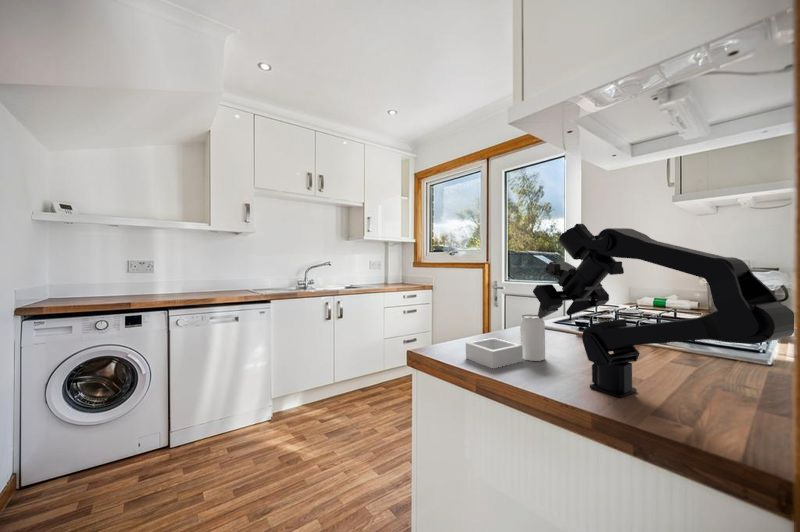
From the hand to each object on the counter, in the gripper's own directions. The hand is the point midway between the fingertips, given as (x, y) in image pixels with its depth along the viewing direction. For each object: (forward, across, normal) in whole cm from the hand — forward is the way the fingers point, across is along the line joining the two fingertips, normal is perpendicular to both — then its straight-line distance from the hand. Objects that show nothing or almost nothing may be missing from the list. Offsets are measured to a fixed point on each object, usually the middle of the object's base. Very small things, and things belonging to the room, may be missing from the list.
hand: (553, 315), depth 86 cm
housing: (+18, +11, +1) cm, 21 cm away
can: (+15, 0, +4) cm, 16 cm away
